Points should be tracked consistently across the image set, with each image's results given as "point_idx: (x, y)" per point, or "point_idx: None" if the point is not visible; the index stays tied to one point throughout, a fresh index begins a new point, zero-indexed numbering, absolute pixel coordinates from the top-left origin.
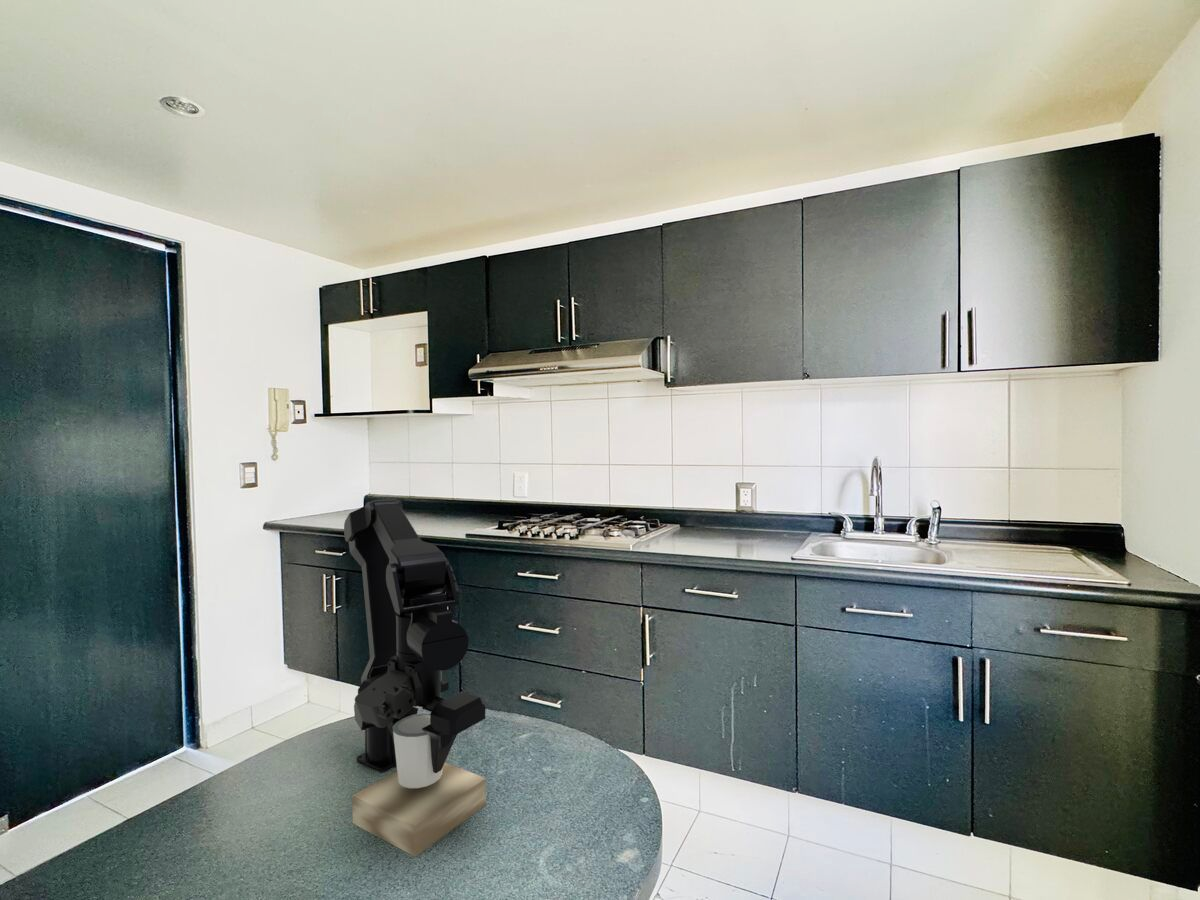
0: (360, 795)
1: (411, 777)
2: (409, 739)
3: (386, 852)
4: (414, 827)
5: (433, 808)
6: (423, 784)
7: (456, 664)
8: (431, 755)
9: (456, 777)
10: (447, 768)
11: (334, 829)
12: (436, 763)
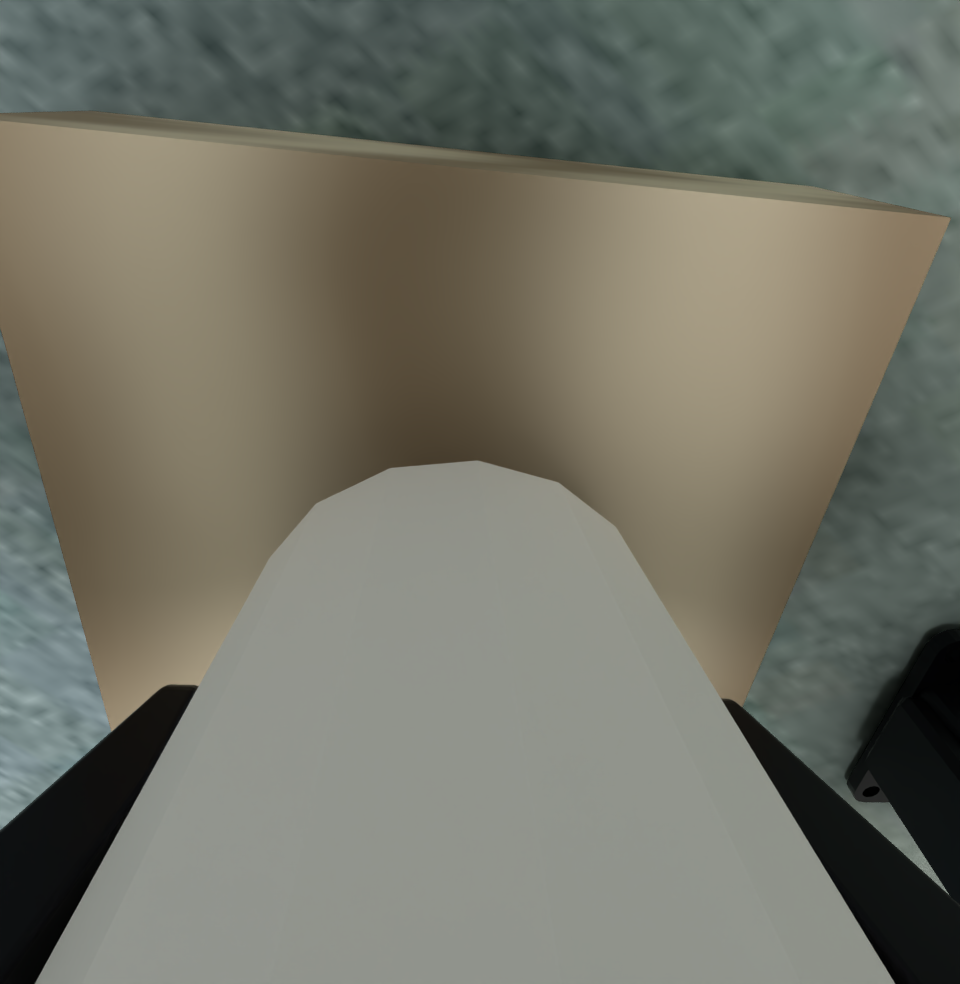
0: (869, 257)
1: (350, 537)
2: None
3: (319, 37)
4: None
5: (88, 416)
6: (276, 551)
7: None
8: (72, 868)
9: None
10: None
11: (908, 57)
12: (60, 782)
